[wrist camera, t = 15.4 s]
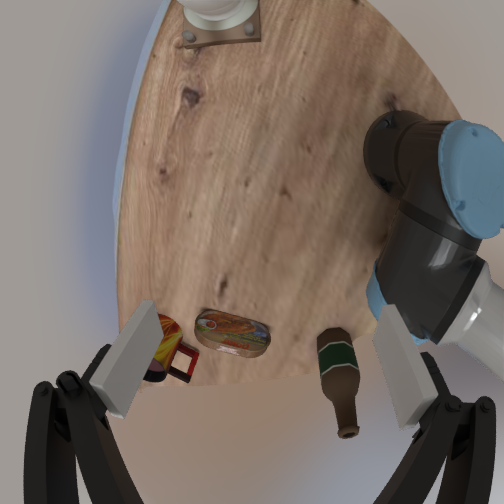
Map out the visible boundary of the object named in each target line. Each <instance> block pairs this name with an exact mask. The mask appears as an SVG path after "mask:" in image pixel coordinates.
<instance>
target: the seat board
mask: <svg viewBox="0 0 504 504" xmlns="http://www.w3.org/2000/svg"><path fill="white" fill-rule="evenodd" d="M182 37H183V47H185V48H186V49H192V48H198V47H205V46H213V45H221V44H231V43H244V42H261V36H260V15H259V0H245V3H244V5H243V7H242V9H241V10H240V11H239V12H238V13H237V14H235V15H234V16H232V17H230V18H227V19H224V20H220V21H210V20H205V19H203V18H201V17H199V16H198V15H197V14H196V13H195V12H194V11H192V10H190V9H188V8H187V7H185V6H184V22H183V33H182Z"/></svg>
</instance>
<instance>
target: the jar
mask: <svg viewBox="0 0 504 504" xmlns="http://www.w3.org/2000/svg"><path fill="white" fill-rule="evenodd" d="M176 1H178V2H179V3H180V4H182V5H184V6H185V7H187V8H188V9H190V10H192V11H194V12H195V13H196V14H197V15H198V16H199V17H201V18H203V19H205V20H210V21H220V20H224V19H227V18H230V17H232V16H234V15H235V14H237V13H238V12H239V11H240V10H241V9H242V7H243V5H244V3H245V0H176Z"/></svg>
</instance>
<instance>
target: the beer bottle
mask: <svg viewBox="0 0 504 504" xmlns="http://www.w3.org/2000/svg"><path fill="white" fill-rule="evenodd" d="M317 352H318V361H319V369H320V377H321V385H322V390H323V393H324V394H325V396H326V397H327V398H328V399H329V400H330V401H332V403H333V405H334V408H335V413H336V418H337V422H338V428H339V430H338V436H339V437H340V438H343V439H347V438H352V437H354V436H356V435H358V433H359V428H360V427H359V426H357V416H356V406H355V396H356V394H357V392H358V388H359V382H360V372H359V368H358V364H357V360H356V356H355V352H354V348H353V345H352V341H351V338H350V335H349V334H348V333H347V332H345V331H344V330H342V329H341V328H334V329H327V330H326V331H324V332H323V333H322V334H321V335H320V336H318V338H317Z"/></svg>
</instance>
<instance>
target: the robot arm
mask: <svg viewBox="0 0 504 504" xmlns="http://www.w3.org/2000/svg"><path fill="white" fill-rule="evenodd" d="M364 161H365V165H366V168H367V171H368V173H369V175H370V177H371V179H372V180H373V182H374V183H375V184H376V185H377V186H378V187H379V188H380V189H381V190H382V191H384V192H385V193H387V194H388V195H390V196H392V197H394V198H397V199H400V200H401V203H400V205H399V208H398V210H397V213H396V216H395V218H394V221H393V224H392V226H391V229H390V231H389V234H388V236H387V239H386V241H385V243H384V246H383V248H382V250H381V253H380V255H379V257H378V258H377V260H376V261H375V263H374V266H373V272H372V275H371V277H370V280H369V282H368V285H367V289H366V296H367V299H368V305H369V308H370V310H371V312H372V314H373V315H374V317H375V318H376V320H377V321H378V324H377V327H376V331H375V334H374V337H373V340H372V341H373V344H374V347H375V349H376V352H377V355H378V358H379V361H380V364H381V367H382V370H383V373H384V376H385V379H386V383H387V386H388V389H389V392H390V396H391V399H392V402H393V406H394V409H395V413H396V417H397V421H398V424H399V428H400V430H404V429H409V428H413V427H414V426H415V425H416V424H417V423H418V421H419V424H420V428H419V429H418V431H417V432H416V433H415V434H414V435H413V436H412V438H414V439H413V441H412V443H411V445H410V447H409V448H408V450H407V452H406V454H405V456H404V457H403V459H402V461H401V462H400V464H399V466H398V467H397V469H396V471H395V472H394V474H393V475H392V477H391V479H390V480H389V482H388V483H387V485H386V486H385V487H384V489H383V490H382V492H381V493H380V495H379V496H378V497H377V499H376V500H375V501H374V503H373V504H423V502H424V500H425V499H426V497H427V495H428V493H429V491H430V490H431V488H432V486H433V484H434V482H435V480H436V478H437V476H438V474H439V472H440V470H441V467H442V465H443V463H444V461H445V458H446V456H447V459H446V464H445V469H444V473H443V478H442V482H441V486H440V490H439V494H438V498H437V501H436V504H488V502H489V497H490V492H491V485H492V479H493V471H494V461H495V447H496V408H495V403H494V402H493V400H492V399H491V398H489V397H487V396H483V397H480V398H479V399H478V400H477V401H476V402H475V403H463V402H461V400H460V399H459V398H458V397H456V396H453V395H451V394H450V392H449V389H448V387H447V385H446V383H445V381H444V378H443V376H442V374H441V373H440V370H439V368H438V367H437V364H436V362H435V360H434V358H433V357H432V356H431V355H430V354H429V353H428V352H422V353H420V352H419V351H418V348H417V346H416V345H419V344H423V343H424V342H427V341H428V340H429V339H430V340H431V341H432V342H434V343H435V344H436V345H438V346H443V345H448V344H457V345H458V346H460V347H461V348H462V349H463V350H464V351H466V352H467V353H468V354H470V355H471V356H472V357H473V358H475V359H476V360H477V361H478V362H479V363H481V364H482V365H483V366H484V367H485V368H487V369H488V370H489V371H490V372H491V373H493V374H494V375H495V376H496V377H497V378H499V379H500V380H501V381H502V382H503V383H504V290H503V289H502V288H501V287H499V286H498V285H497V284H495V283H494V282H493V281H492V279H491V275H490V271H489V266H488V263H487V262H486V261H485V260H483V259H481V258H480V257H479V256H477V255H476V253H477V251H478V248H479V246H480V243H481V241H482V239H486V238H491V237H494V236H496V235H497V234H498V233H499V232H500V228H504V142H503V141H502V140H501V138H500V137H499V136H498V135H497V134H496V133H495V132H493V131H492V130H490V129H489V128H488V127H486V126H483V125H480V124H475V123H471V122H467V121H465V120H455V121H429V120H427V119H426V118H424V117H423V116H421V115H419V114H417V113H414V112H411V111H404V110H401V111H392V112H388V113H386V114H384V115H382V116H380V117H379V118H378V119H377V120H375V122H374V123H373V124H372V125H371V127H370V128H369V130H368V132H367V135H366V138H365V142H364ZM163 337H164V334H163V331H162V327H161V324H160V320H159V317H158V313H157V309H156V306H155V302H154V301H151V300H143V301H142V302H141V303H140V305H139V306H138V308H137V309H136V311H135V312H134V313H133V315H132V316H131V318H130V319H129V321H128V322H127V324H126V325H125V327H124V328H123V330H122V331H121V333H120V334H119V335H118V337H117V339H116V340H115V342H114V343H113V345H110V344H106V345H105V346H104V347H102V348H101V349H100V350H99V352H98V353H97V355H96V357H95V358H94V359H93V361H92V363H91V364H90V365H89V367H88V368H87V370H86V371H85V373H84V374H83V376H82V378H81V379H80V377H79V376H78V374H77V373H76V372H74V371H71V370H70V371H65V372H63V373H61V374H60V375H59V376H58V378H57V380H56V385H57V386H58V388H54V387H53V386H52V384H51V383H50V382H48V381H43V382H40V383H39V384H37V385H36V387H35V388H34V391H33V396H32V401H31V407H30V412H29V419H28V425H27V433H26V442H25V454H24V504H79V497H78V488H77V475H76V457H77V460H78V464H79V467H80V470H81V473H82V477H83V480H84V483H85V485H86V488H87V491H88V494H89V496H90V499H91V501H92V504H144V503H143V501H142V499H141V497H140V495H139V493H138V491H137V489H136V487H135V485H134V483H133V481H132V479H131V477H130V475H129V473H128V471H127V468H126V466H125V464H124V461H123V459H122V457H121V454H120V452H119V449H118V447H117V444H116V441H115V439H114V436H113V433H112V430H111V428H110V425H109V422H108V419H107V416H106V415H105V413H106V410H107V409H108V411H109V412H110V413H111V415H113V416H116V417H119V418H123V419H125V416H126V414H127V412H128V410H129V407H130V405H131V403H132V401H133V399H134V397H135V394H136V392H137V390H138V388H139V386H140V384H141V382H142V380H143V378H144V375H145V373H146V371H147V369H148V367H149V365H150V363H151V361H152V359H153V357H154V355H155V353H156V351H157V349H158V347H159V345H160V343H161V341H162V339H163ZM75 456H76V457H75Z"/></svg>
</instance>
